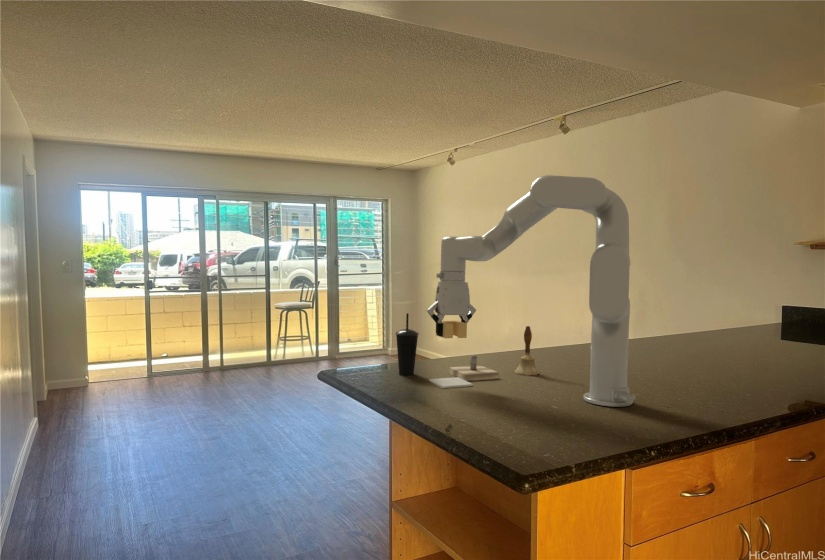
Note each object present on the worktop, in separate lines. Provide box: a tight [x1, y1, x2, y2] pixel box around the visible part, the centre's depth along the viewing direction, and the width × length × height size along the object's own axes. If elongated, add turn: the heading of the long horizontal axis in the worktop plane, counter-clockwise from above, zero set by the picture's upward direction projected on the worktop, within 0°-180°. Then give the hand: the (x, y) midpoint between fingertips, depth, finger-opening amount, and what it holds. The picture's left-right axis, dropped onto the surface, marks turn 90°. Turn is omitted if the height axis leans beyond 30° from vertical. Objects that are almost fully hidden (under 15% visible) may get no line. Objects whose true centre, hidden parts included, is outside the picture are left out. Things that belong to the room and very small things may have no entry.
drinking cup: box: [395, 313, 420, 376], centre depth 178 cm, size 8×8×20 cm
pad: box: [428, 376, 474, 389], centre depth 165 cm, size 10×10×1 cm
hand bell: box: [514, 325, 540, 376], centre depth 183 cm, size 8×8×16 cm
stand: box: [448, 354, 499, 382], centre depth 177 cm, size 12×12×7 cm
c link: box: [435, 320, 468, 339], centre depth 165 cm, size 7×7×4 cm
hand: (451, 335), depth 165 cm, fingers closed on c link, 7 cm apart
